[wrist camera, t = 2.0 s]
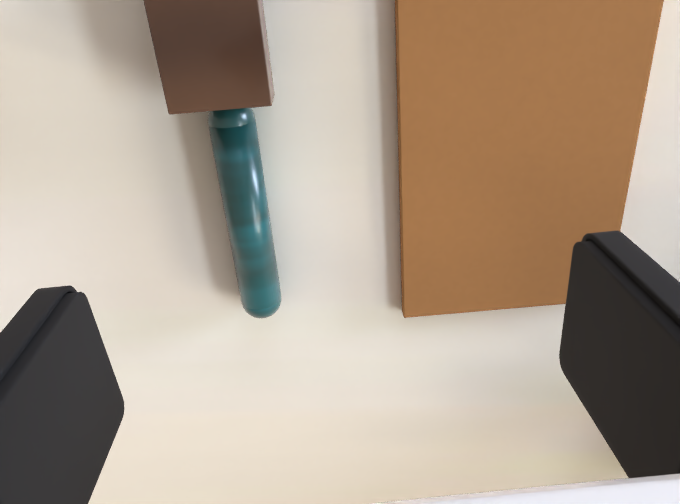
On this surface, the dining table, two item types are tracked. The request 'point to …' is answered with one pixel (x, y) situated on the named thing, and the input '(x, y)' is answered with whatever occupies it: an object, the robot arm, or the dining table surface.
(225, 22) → the brush
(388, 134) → the dining table surface
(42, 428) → the robot arm
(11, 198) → the dining table surface
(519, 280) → the cork mat
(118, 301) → the dining table surface
